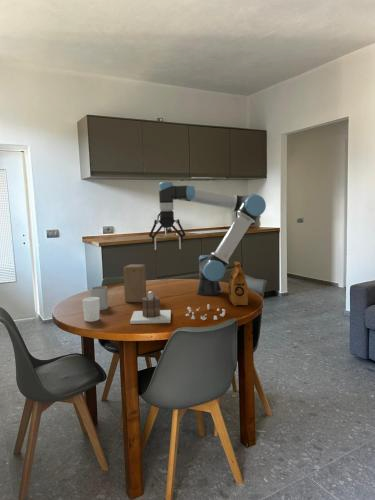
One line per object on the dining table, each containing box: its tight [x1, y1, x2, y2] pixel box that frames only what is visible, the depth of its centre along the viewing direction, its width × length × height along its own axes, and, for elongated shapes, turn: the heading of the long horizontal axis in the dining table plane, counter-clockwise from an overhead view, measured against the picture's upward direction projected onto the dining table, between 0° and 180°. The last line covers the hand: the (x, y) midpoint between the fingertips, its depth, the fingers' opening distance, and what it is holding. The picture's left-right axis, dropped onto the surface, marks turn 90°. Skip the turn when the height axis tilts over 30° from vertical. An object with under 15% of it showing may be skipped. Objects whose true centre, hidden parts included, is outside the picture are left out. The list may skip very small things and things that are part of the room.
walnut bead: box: [141, 295, 161, 318], centre depth 175 cm, size 8×8×8 cm
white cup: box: [81, 296, 101, 322], centre depth 175 cm, size 8×8×10 cm
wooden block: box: [123, 263, 147, 303], centre depth 209 cm, size 10×10×20 cm
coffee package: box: [228, 260, 249, 307], centre depth 197 cm, size 10×12×22 cm
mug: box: [90, 285, 109, 311], centre depth 196 cm, size 12×8×11 cm
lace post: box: [147, 291, 154, 300], centre depth 174 cm, size 2×2×11 cm
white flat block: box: [129, 309, 172, 325], centre depth 175 cm, size 18×16×2 cm
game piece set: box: [185, 303, 226, 321], centre depth 179 cm, size 19×20×4 cm
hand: (167, 249), depth 206 cm, fingers open, 13 cm apart
